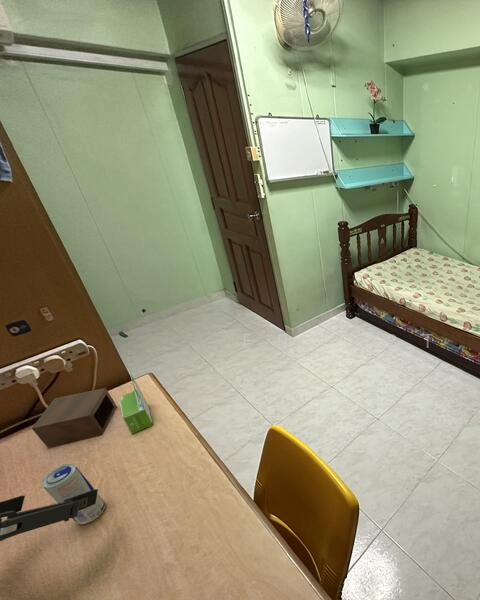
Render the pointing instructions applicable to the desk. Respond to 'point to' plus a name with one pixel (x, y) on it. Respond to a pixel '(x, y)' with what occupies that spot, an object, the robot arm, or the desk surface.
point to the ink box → (135, 409)
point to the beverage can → (72, 490)
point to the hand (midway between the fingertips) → (58, 499)
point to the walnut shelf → (75, 417)
